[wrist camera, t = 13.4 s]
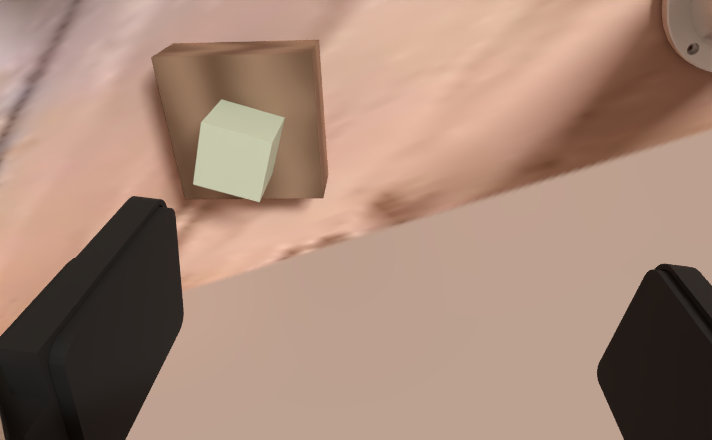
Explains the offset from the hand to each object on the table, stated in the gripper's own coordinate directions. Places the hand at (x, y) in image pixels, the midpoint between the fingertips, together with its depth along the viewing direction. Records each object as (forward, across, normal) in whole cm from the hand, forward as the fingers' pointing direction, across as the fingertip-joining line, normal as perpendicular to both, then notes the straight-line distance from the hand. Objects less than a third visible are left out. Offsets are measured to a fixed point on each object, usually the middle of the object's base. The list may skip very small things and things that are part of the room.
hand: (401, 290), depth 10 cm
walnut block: (+34, +11, +10) cm, 37 cm away
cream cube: (+30, +10, +10) cm, 33 cm away
